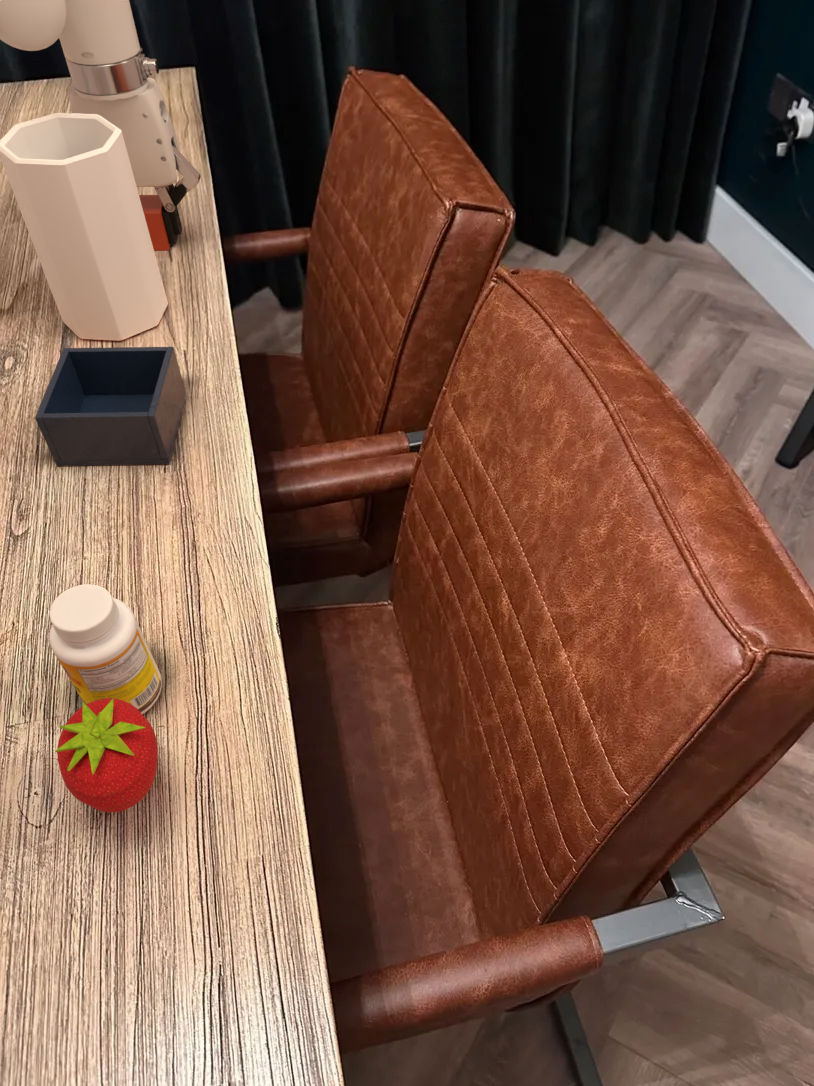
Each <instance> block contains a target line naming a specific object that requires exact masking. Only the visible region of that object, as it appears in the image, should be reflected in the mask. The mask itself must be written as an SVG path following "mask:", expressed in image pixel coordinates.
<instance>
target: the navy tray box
mask: <svg viewBox="0 0 814 1086" xmlns="http://www.w3.org/2000/svg"><path fill="white" fill-rule="evenodd" d="M60 353H61V354H60V356H59V358H58V361H57V363H56V366H55V368H54V370H53V373H52V375H51V377H50V380H49V382H48V385H47V387H46V389H45V392H44V395H43V396H42V399H41V402H40V404H39V407H38V409H37V411H36V414H35V416H34V419H35V421H36V423H37V425H38V428H39V430H40V432H41V435H42V437H43V439H44V441H45V443H46V446H47V448H48V450H49V452H50V454H51V457H52V459H53V461H54V463H55V465H56V467H89V466H90V467H93V466H95V467H97V466H98V467H99V466H149V465H150V466H151V465H152V466H153V465H156V464H157V465H170V464H171V461H172V456H173V453H174V452H173V451H174V447H175V444H176V439H177V435H178V431H179V428H180V424H181V420H182V416H183V411H184V407H185V404H186V399H187V391H186V387H185V384H184V380H183V376H182V373H181V369H180V365H179V362H178V359H177V355H176V351H175V348H174V346H131V347H130V346H124V347H123V346H122V347H121V346H118V347H117V346H116V347H115V346H114V347H63V349H62V351H61V352H60ZM157 465H156V466H157Z"/></svg>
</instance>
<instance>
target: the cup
mask: <svg viewBox="0 0 814 1086" xmlns="http://www.w3.org/2000/svg"><path fill="white" fill-rule="evenodd" d="M0 161H1V164H2V167H3V169H4V171H5V174H6V177H7V179H8V182H9V185H10V187H11V190H12V192H13V196H14V198H15V200H16V203H17V206H18V209H19V211H20V213H21V216H22V218H23V221H24V223H25V226H26V230H27V231H28V235H29V237H30V240H31V242H32V245H33V248H34V250H35V253H36V256H37V259H38V260H39V264H40V266H41V268H42V272H43V274H44V277H45V278H46V281H47V283H48V287H49V290H50V293H51V295H52V297H53V300H54V302H55V306H56V307H57V310H58V313H59V316H60V319H61V321H62V323H63V324H64V325H65V326H66V327H68V329H69V330H71V331H72V332H73V333H74V335H76V336H77V337H78V338H79V339H82V340H96V341H98V340H100V341H117V342H118V341H119V342H122V341H124V340H127V339H129V338H132V337H133V336H136V335H138V334H141V333H144V332H146V331H148V330H150V329H153V328H155V327H157V326H158V325H159V323H160V322H161V320H162V318H163V316H164V314H165V312H166V310H167V308H168V305H169V302H168V298H167V294H166V291H165V290H166V289H165V286H164V283H163V279H162V275H161V271H160V268H159V264H158V261H157V257H156V253H155V250H154V249H153V245H152V242H151V238H150V234H149V231H148V227H147V223H146V220H145V216H144V212H143V208H142V205H141V201H140V197H139V195H140V194H139V190H138V187H137V186H136V183H135V179H134V175H133V171H132V168H131V164H130V160H129V157H128V153H127V149H126V146H125V142H124V138H123V134H122V131H121V130H120V129H119V128H117V127H116V126H115V125H113V124H112V123H110V122H109V121H107V120H106V119H104V118H103V117H102V116H100V115H97V114H77V113H71V112H54V113H50V114H47V115H43V116H39V117H35V118H32V119H28V120H26V121H22V122H18V123H15V124H14V125H13V126H12V127H11V128H10V129H9V130H8V131H7V132H6V134H4V136H3V137H2V138H1V139H0Z"/></svg>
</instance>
